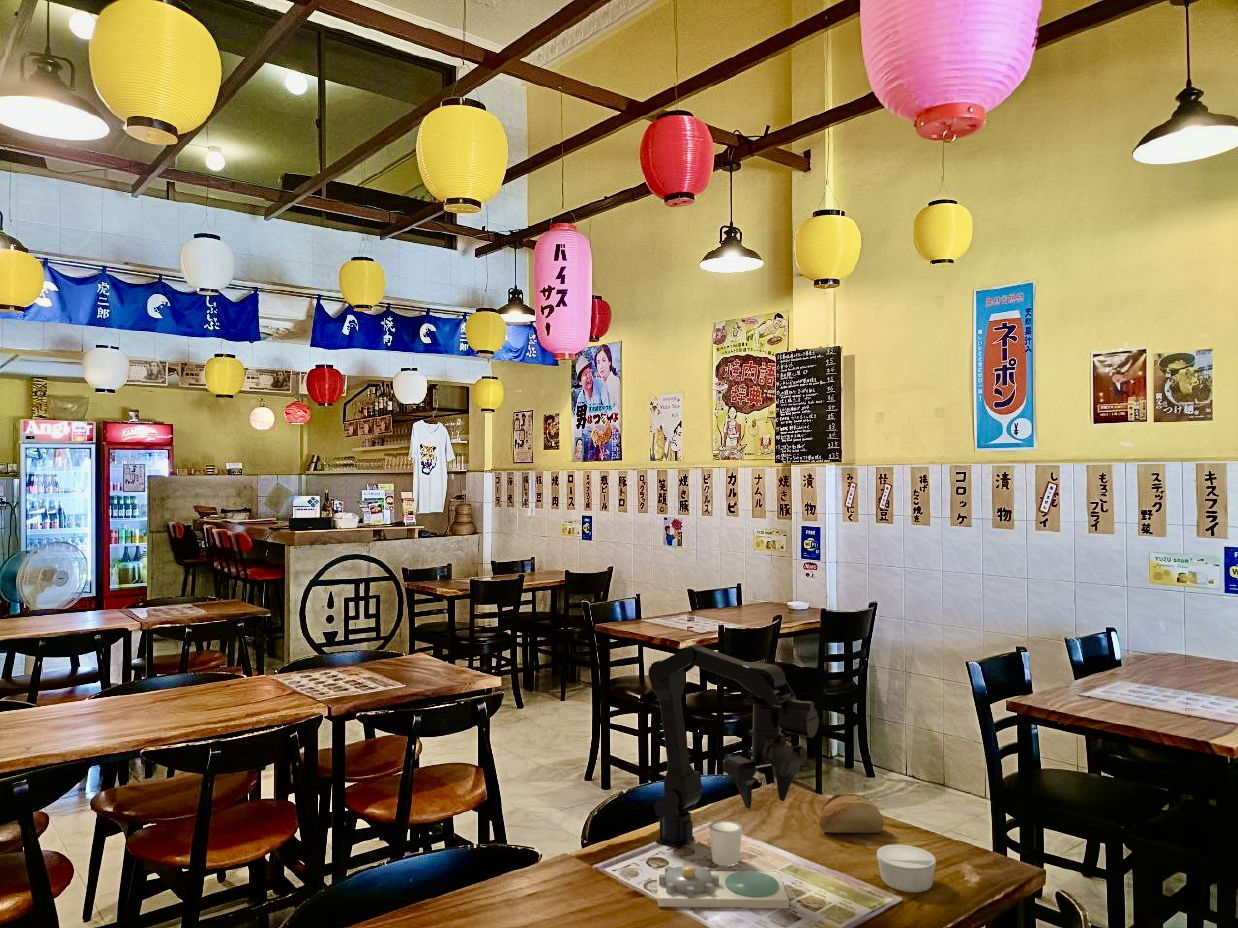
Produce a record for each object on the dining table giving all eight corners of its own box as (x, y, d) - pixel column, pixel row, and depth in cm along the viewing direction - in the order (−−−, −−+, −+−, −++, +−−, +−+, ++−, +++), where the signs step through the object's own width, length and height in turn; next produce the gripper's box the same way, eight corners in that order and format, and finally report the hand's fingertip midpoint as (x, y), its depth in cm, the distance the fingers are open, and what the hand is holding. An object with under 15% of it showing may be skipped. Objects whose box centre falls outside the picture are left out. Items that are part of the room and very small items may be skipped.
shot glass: (741, 868, 170) (741, 833, 170) (707, 865, 171) (707, 830, 172) (743, 855, 176) (743, 821, 177) (710, 852, 178) (710, 819, 178)
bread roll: (811, 825, 194) (811, 790, 194) (872, 822, 196) (871, 787, 197) (828, 841, 184) (827, 804, 185) (891, 837, 187) (890, 801, 187)
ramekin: (907, 900, 156) (907, 871, 156) (864, 877, 166) (864, 850, 166) (949, 888, 161) (949, 860, 162) (905, 866, 171) (904, 840, 172)
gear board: (658, 906, 153) (658, 881, 153) (656, 878, 165) (656, 854, 165) (789, 908, 153) (788, 882, 153) (778, 879, 165) (777, 856, 165)
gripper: (758, 743, 160) (756, 826, 160) (827, 731, 170) (826, 809, 170) (721, 729, 170) (720, 807, 169) (789, 718, 180) (788, 792, 179)
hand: (765, 804), depth 172 cm, fingers open, 9 cm apart
